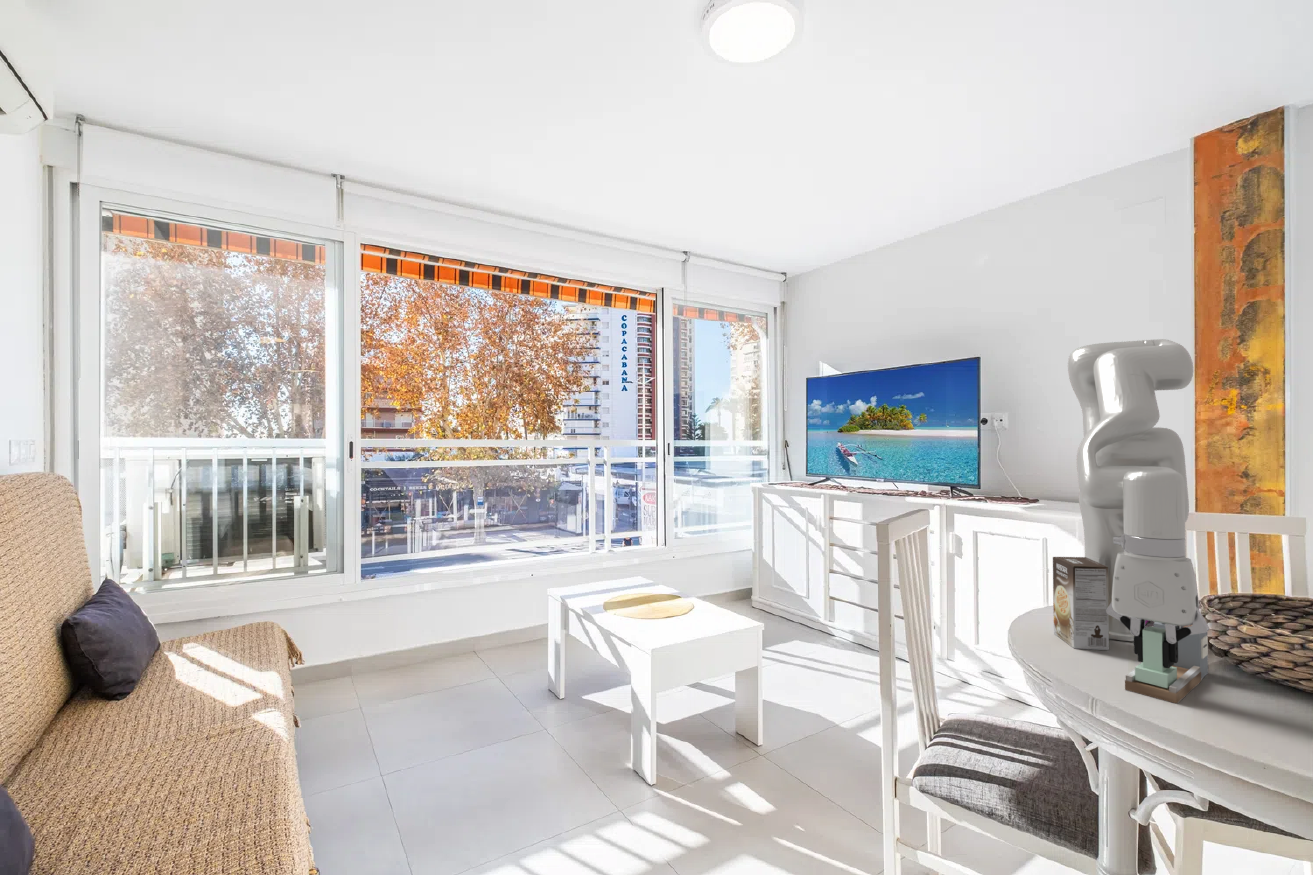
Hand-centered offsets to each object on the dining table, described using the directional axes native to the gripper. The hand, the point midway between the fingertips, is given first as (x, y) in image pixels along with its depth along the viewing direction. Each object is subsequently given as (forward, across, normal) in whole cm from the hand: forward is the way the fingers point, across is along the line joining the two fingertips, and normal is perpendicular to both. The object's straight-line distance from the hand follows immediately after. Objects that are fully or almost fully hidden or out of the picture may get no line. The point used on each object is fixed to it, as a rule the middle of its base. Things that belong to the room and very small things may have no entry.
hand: (1155, 661), depth 94 cm
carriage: (+3, 0, 0) cm, 3 cm away
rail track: (+5, 0, +4) cm, 6 cm away
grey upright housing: (+5, 0, +14) cm, 14 cm away
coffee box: (+5, -16, +17) cm, 24 cm away
